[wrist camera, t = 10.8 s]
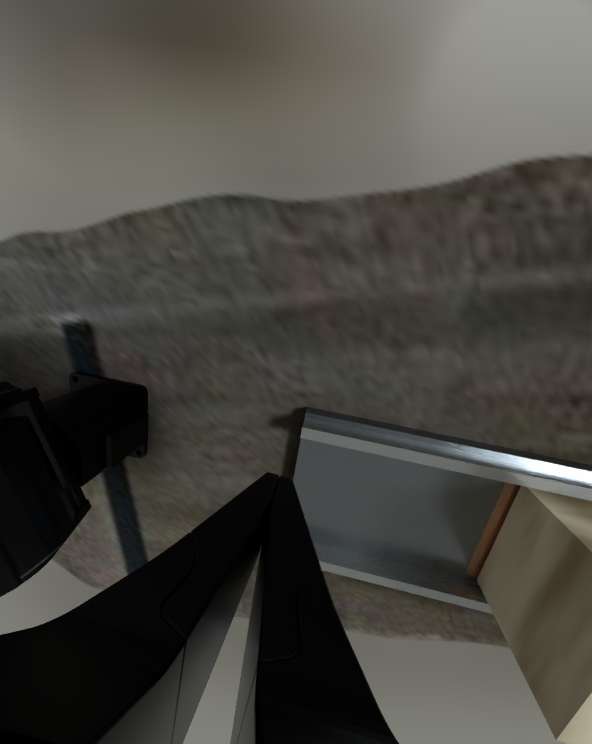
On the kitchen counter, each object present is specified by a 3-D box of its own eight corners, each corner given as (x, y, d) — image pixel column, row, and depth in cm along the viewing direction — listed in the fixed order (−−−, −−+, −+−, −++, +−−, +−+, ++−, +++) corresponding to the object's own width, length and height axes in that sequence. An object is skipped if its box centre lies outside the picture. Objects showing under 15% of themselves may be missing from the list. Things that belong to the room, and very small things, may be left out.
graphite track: (283, 535, 24) (273, 579, 20) (307, 406, 21) (300, 431, 17) (641, 624, 22) (706, 694, 18) (737, 495, 18) (844, 548, 14)
